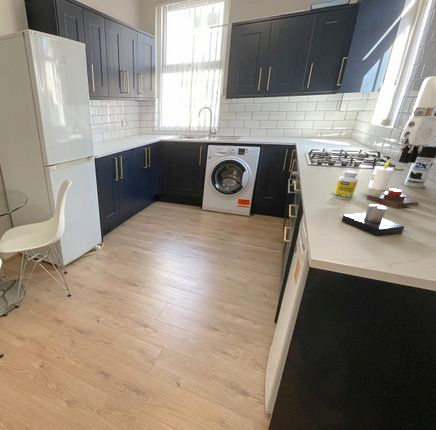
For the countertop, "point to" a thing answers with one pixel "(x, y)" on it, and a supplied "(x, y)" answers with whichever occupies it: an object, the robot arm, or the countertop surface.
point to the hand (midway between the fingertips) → (406, 162)
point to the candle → (381, 177)
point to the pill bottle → (346, 185)
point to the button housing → (392, 200)
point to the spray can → (421, 167)
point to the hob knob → (375, 213)
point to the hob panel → (372, 225)
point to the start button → (395, 192)
